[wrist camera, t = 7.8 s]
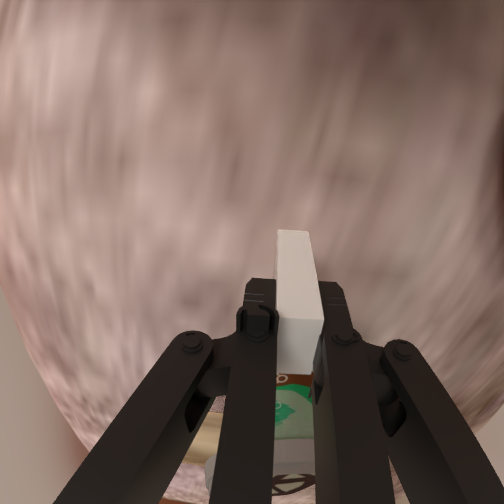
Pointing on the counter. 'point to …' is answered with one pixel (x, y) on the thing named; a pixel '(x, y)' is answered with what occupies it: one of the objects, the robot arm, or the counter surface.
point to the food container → (288, 437)
